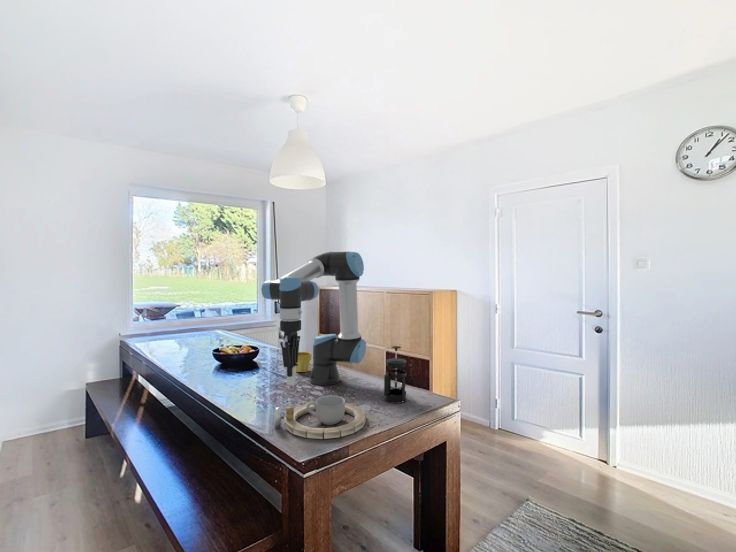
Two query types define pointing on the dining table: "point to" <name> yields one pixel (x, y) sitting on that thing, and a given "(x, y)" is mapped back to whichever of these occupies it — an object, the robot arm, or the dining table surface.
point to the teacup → (328, 409)
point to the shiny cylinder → (277, 417)
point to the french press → (395, 389)
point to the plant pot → (303, 362)
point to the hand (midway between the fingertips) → (291, 384)
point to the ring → (323, 432)
